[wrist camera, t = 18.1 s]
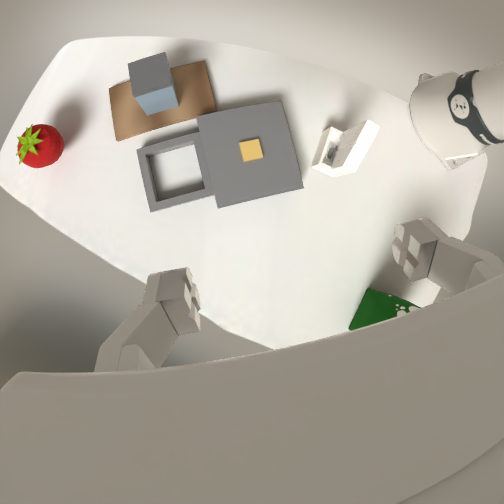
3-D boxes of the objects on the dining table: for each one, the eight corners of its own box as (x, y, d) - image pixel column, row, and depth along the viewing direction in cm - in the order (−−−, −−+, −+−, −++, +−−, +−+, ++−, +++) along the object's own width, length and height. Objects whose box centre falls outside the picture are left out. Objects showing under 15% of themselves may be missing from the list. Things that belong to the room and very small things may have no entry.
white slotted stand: (359, 113, 35) (380, 126, 28) (329, 170, 41) (342, 194, 34) (337, 102, 35) (354, 111, 28) (308, 160, 40) (316, 183, 33)
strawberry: (71, 175, 33) (34, 167, 24) (35, 168, 32) (-4, 161, 22) (82, 135, 33) (49, 117, 23) (45, 130, 32) (9, 115, 22)
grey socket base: (275, 107, 36) (281, 99, 33) (297, 189, 38) (305, 187, 35) (137, 140, 34) (130, 134, 31) (156, 225, 36) (151, 226, 33)
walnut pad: (204, 63, 34) (204, 60, 33) (216, 113, 35) (216, 111, 34) (110, 90, 32) (108, 88, 31) (118, 141, 34) (115, 140, 33)
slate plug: (173, 79, 33) (165, 52, 25) (178, 106, 33) (171, 82, 26) (142, 88, 32) (127, 63, 24) (147, 115, 33) (132, 94, 25)
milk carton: (402, 297, 44) (487, 341, 24) (379, 344, 44) (451, 405, 25) (365, 280, 42) (454, 327, 22) (340, 332, 43) (412, 403, 23)
